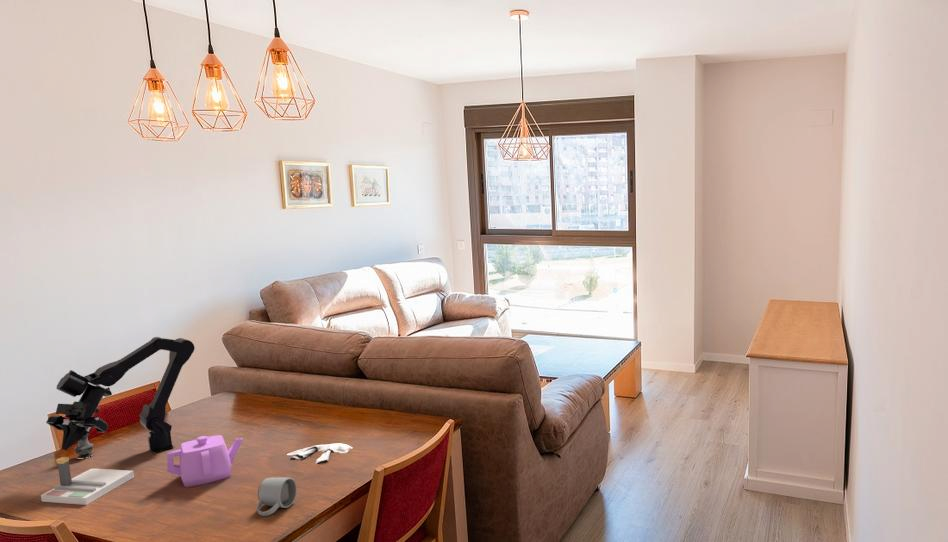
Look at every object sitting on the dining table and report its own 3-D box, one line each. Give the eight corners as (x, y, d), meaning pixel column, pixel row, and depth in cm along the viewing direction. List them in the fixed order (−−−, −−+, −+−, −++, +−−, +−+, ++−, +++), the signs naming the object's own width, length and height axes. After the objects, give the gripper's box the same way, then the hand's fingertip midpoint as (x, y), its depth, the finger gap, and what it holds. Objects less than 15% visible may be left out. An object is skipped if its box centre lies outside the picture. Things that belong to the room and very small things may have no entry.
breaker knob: (66, 483, 194) (62, 456, 193) (72, 483, 194) (68, 456, 193) (60, 486, 192) (56, 459, 191) (66, 487, 192) (62, 460, 190)
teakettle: (163, 486, 193) (158, 446, 192) (202, 462, 210) (198, 425, 208) (211, 490, 188) (206, 449, 187) (247, 465, 205) (243, 428, 203)
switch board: (92, 474, 205) (91, 466, 205) (134, 476, 201) (133, 468, 201) (41, 501, 188) (40, 492, 188) (86, 504, 184) (85, 495, 184)
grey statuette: (85, 460, 218) (80, 426, 216) (70, 459, 219) (65, 425, 217) (99, 453, 223) (94, 419, 222) (84, 452, 225) (79, 419, 223)
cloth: (361, 447, 215) (361, 440, 215) (321, 475, 195) (320, 467, 195) (312, 441, 224) (311, 434, 223) (268, 467, 204) (267, 460, 203)
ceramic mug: (273, 496, 182) (270, 470, 180) (298, 499, 179) (295, 473, 178) (249, 516, 172) (245, 488, 170) (275, 519, 169) (272, 491, 168)
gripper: (47, 390, 203) (19, 437, 194) (95, 392, 198) (69, 440, 189) (71, 406, 212) (46, 452, 202) (118, 408, 207) (95, 455, 198)
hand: (63, 449), depth 198 cm, fingers closed
